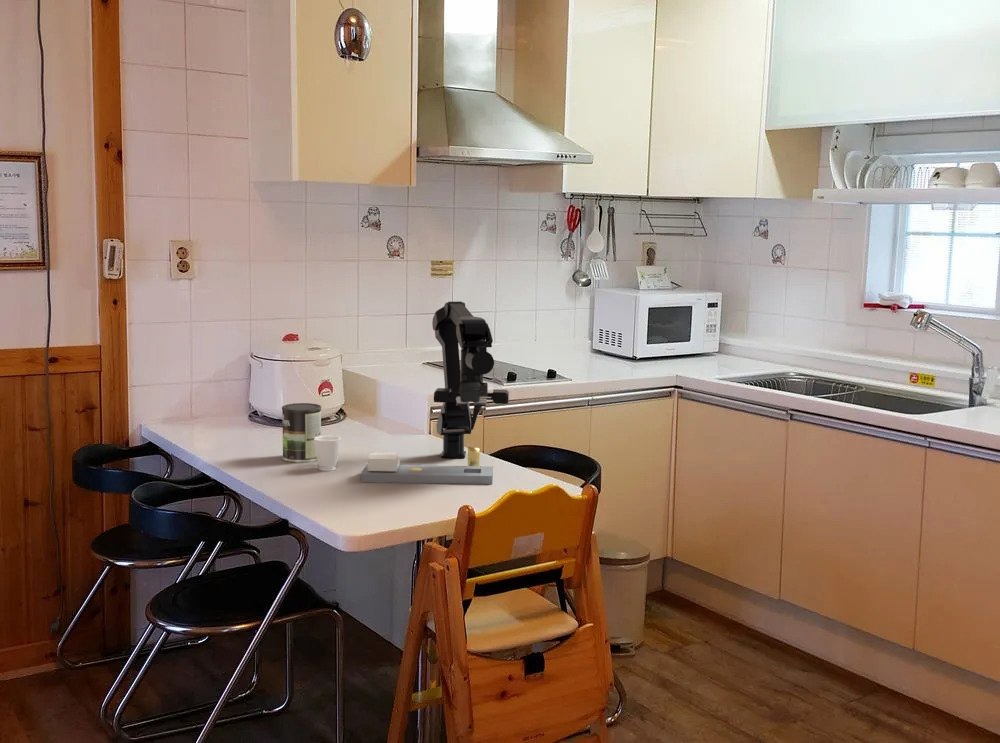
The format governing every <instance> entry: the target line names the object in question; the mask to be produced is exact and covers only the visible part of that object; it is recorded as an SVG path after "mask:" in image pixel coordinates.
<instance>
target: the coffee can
mask: <svg viewBox="0 0 1000 743" xmlns="http://www.w3.org/2000/svg"><path fill="white" fill-rule="evenodd" d="M281 410H282V412H281V413H282V460H283V461H285V462H289V463H296V464H297V463H299V464H300V463H301V464H302V463H312V462H318V460H317V455H316V448H315V442H314V438H315V437H318V436H322V405H320V404H316V403H311V402H298V403H297V402H295V403H289V404H284V405H282V406H281Z"/></svg>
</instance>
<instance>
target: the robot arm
mask: <svg viewBox="0 0 1000 743" xmlns="http://www.w3.org/2000/svg"><path fill="white" fill-rule="evenodd" d="M431 323H432V330H433V331H434V336H435V339H436V340H437V341H438V343H439V344H440V346H441V351H442V364H443V365H442V366H443V378H444V381H443V382H444V387H438V388H436V389H435V391H434V393H433V402H434V403H442V405H441V407H440V412H439V415H438V418H437V422H436V424H435V425H436V434H438V435H440V436H442V439H443V440H442V451H441V455H440V458H450V459H453V458H454V459H459V458H460V459H465V458H466V455H467V452H466V451H465V435H471V433H472V431H473V430H474V428H475V425H476V422H477V418H478V415H479V413H480V411H481V409H482V408H483V407H486V406H487V403H488V402H487V401H492V402H493V403H494V404H496V405H497V404H499V405H500V404H501V405H506V404H507V405H508V404H509V399H510V392H509V391H508V389H501V388H500V389H498V388H496V389H494V388H493V391H492V392H489V390H488V388H489V385H488V382H484V375H487V374H488V373H490V372H491V371H492V370H493V369H494V367H495V360H494V357H493V355H492V354H491V353H490V352H489V351H487V348H493V345H492V344H493V341H494V340H493V336H492V331H491V329H490V327H489V323H487V321H486V320H485V319H484V318H483V317H479V316H474V315H473V314H472V313H471V311H470V310H468V308H467V307H466V303H465V302H464V301H463V302H462V301H461V300H460V301H453V300H452V301H448V302H445V304H444V306H442V307H441V308H439V309H438V310H436V311H435V313H434V315H433V318H432V322H431ZM470 403H474V405H473V412H471V408H470Z"/></svg>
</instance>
